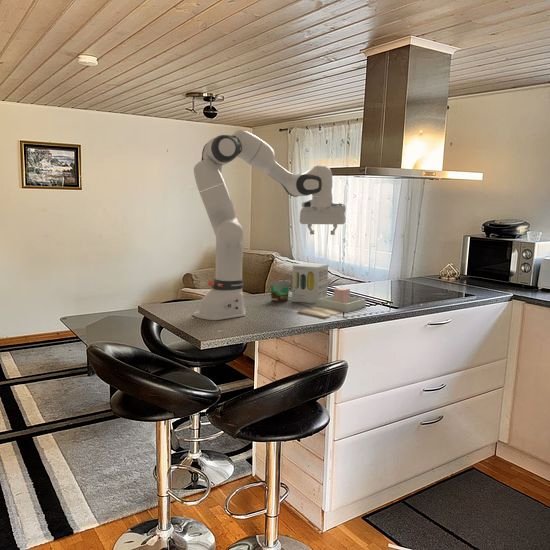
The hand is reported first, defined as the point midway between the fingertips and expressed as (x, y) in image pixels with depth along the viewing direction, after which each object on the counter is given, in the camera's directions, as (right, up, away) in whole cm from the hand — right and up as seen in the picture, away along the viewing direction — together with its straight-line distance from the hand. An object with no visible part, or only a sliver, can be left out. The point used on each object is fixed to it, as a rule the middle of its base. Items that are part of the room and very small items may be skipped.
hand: (322, 234), depth 225 cm
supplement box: (-5, -31, +14) cm, 34 cm away
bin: (+9, -33, +1) cm, 34 cm away
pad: (-2, -34, -11) cm, 36 cm away
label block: (+9, -32, +1) cm, 33 cm away
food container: (-17, -30, +13) cm, 37 cm away
